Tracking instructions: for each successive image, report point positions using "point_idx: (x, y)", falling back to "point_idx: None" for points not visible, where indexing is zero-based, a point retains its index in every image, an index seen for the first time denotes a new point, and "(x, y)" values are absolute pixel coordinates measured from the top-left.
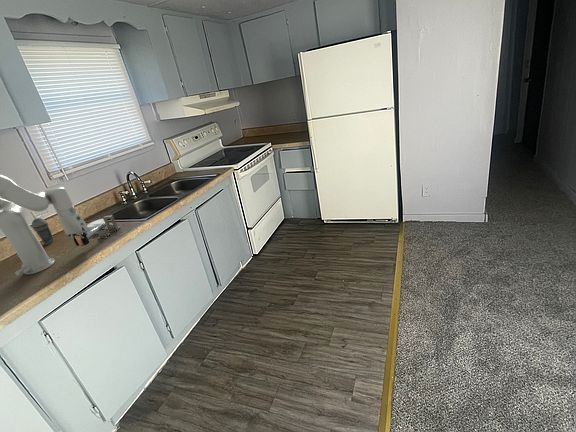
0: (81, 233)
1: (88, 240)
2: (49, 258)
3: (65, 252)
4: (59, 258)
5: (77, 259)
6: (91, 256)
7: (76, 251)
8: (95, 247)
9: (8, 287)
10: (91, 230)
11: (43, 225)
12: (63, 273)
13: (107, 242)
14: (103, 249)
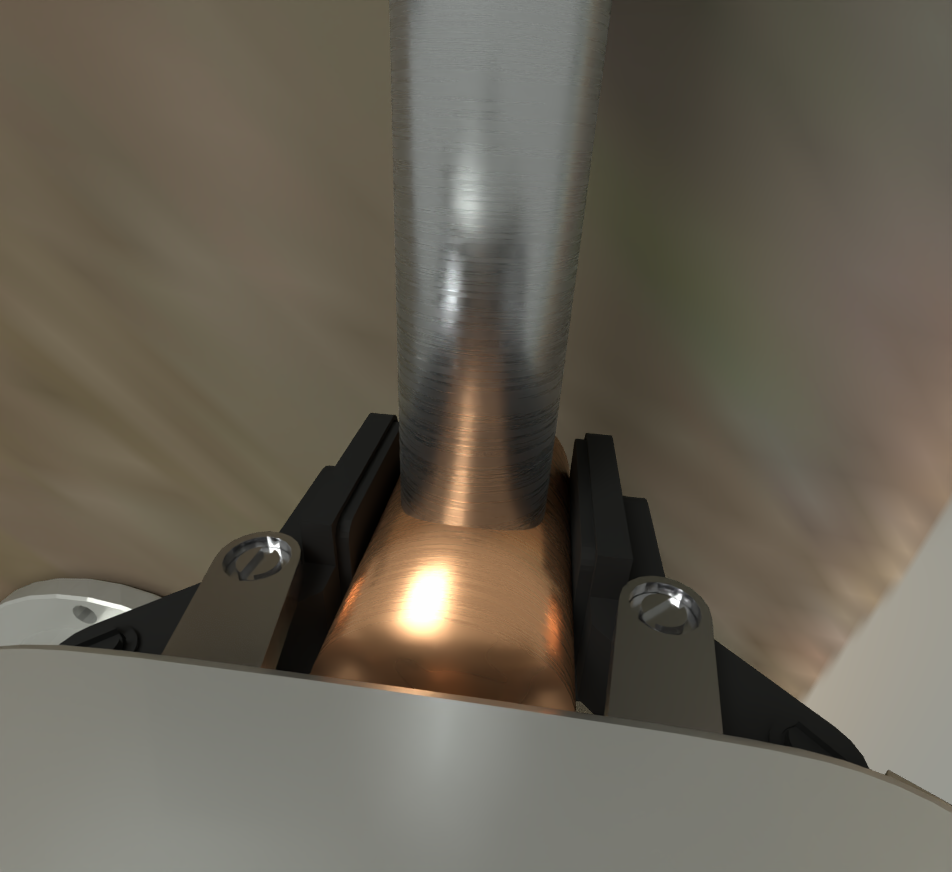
0: (518, 676)
1: (616, 464)
2: (79, 604)
3: (93, 404)
4: (201, 564)
5: None
6: (792, 652)
7: (316, 424)
8: (674, 367)
9: None
10: (499, 8)
11: None
12: None
13: (906, 172)
14: (939, 498)
